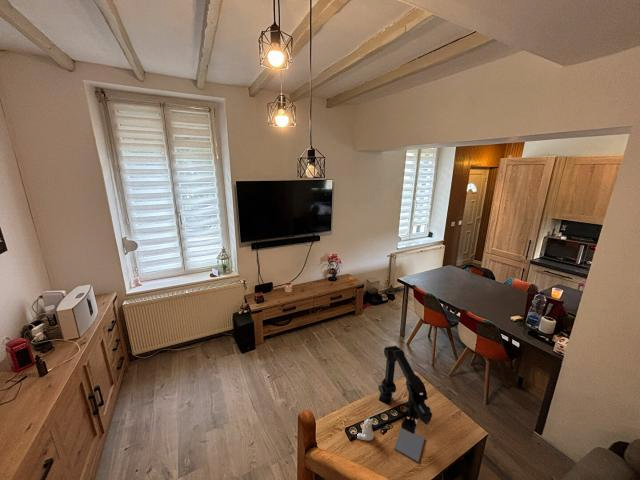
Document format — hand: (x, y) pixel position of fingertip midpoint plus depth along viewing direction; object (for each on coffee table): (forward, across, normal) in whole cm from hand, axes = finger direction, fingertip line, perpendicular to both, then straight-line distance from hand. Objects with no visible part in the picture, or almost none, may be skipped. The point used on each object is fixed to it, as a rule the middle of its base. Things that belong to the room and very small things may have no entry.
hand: (411, 426), depth 135 cm
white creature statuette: (+12, -8, +21) cm, 25 cm away
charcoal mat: (+11, 0, 0) cm, 11 cm away
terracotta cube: (+1, 0, 0) cm, 1 cm away
